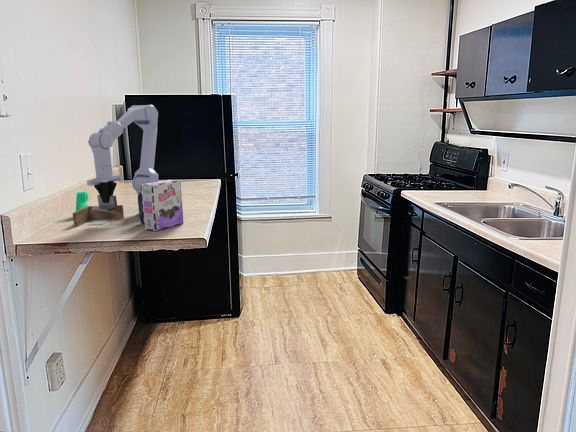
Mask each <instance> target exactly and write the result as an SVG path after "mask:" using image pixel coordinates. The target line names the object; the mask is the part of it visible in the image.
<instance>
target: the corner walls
mask: <svg viewBox="0 0 576 432" xmlns="http://www.w3.org/2000/svg"><path fill="white" fill-rule="evenodd" d="M97 206H98V205H87V206H86V207H84V208H82V209H80V210H78V211H76V210H75V211H74V212H72V220H73V227H74V228H78V227H80V226H81V225H82V226H83V224H85V223H87V222H89V221H90V220H104V219H110V220H116V219H124V218H125V214H124V206H123V204H117V208H118V209H116V210H112V211H109V212H105V211H94V210H91V208H93V207H97Z"/></svg>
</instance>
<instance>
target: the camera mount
mask: <svg viewBox="0 0 576 432" xmlns="http://www.w3.org/2000/svg"><path fill="white" fill-rule="evenodd" d="M75 201H76V202H75V212H76V211H78V210H80V209H82V208H84V207H86V206H88V202H89V193H88V191H77V193H76V200H75Z"/></svg>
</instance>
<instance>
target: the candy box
mask: <svg viewBox="0 0 576 432" xmlns="http://www.w3.org/2000/svg"><path fill="white" fill-rule="evenodd" d="M181 185H182V184H181V180H179V179H178V180H177V179H167V180H159V182H153V183H147V184H141V192H142V204H143V216H144V225H143V227H144V230H146V231H152V232H157V231H161V230H165V229H168V228H172V227H176V226H179V225H184V212H183V210H184V209H183V199H182V198H183V197H182V186H181Z"/></svg>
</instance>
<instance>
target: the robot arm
mask: <svg viewBox="0 0 576 432" xmlns="http://www.w3.org/2000/svg"><path fill="white" fill-rule="evenodd" d="M158 119H159V112H158V109H157V108H156V107H155V105H153V104H146V105H145V104H143V105H136V104H135V105H134V104H133V105H131V106H130V107H129V108H127V111H126V112H125V113H124V114H123V115H122V116H120V117H119V118H118V119H117V120H116V121H115V120H111V121H110V120H109V121H108V122H106V125H105V126H104V127H102V128H100V129H99V130H98V132H92V133H91V134H90V136H89V138H88V140H87V143H88V145H89V147H90V148H91V152H92V154H93V162H94V170H95V178H92V179H87V180H86V184H87V187H89V186H90V187H91V186H93V187H94V189H95V190H96V191H97V193H98V195H100V197H101V199H102V202H103V203H108V195H114V192H115V189H116V187H117V184H118V183H117V182H120V181H122V180H123V179H122V175H113V165H112V155H111V148H112V146H113V144H114V141H115V140H116V139H118V138H119V137H120V136H121V135H122V134H123V133H124V129H125V128H126V127H128V126H129V125H130V124H131V123H135V124H136V125H137V126H138V127H139V128H141V129H142V131H143V132H142V142H141V151H140V161H139V162H140V163H139V168H138V169H137V170H136V171H135V172H134V176H133V179H132V181H131V185H132V189H134V191H135V192H136V194H137V196H138V195H139V192H141V184H147V183H153V182H159V181H160V180H159V175H160V174H158V173H157V172H156V170H155V169H154V168H155V160H156V159H155V157H156V146H157V137H158V136H157V135H158V122H159V120H158ZM135 215H136V216H139V212H137V213H136V214H135Z"/></svg>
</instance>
